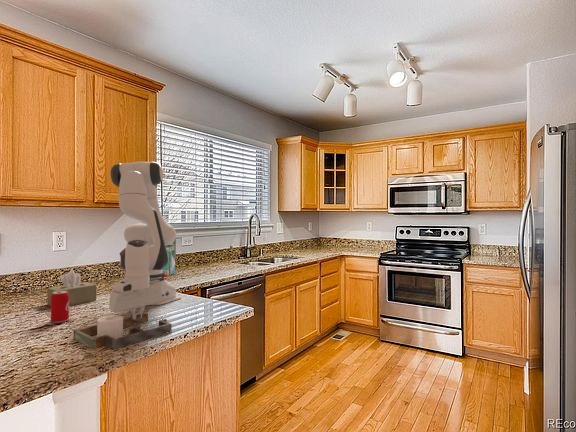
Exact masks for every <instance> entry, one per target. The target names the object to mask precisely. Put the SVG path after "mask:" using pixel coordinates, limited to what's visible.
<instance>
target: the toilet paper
mask: <svg viewBox="0 0 576 432" xmlns="http://www.w3.org/2000/svg"><path fill="white" fill-rule="evenodd" d="M123 318H124V316H122V315H118V314H117V315H116V314H108V315H105V316H101V317H99V318H98V319H97V324H96V325H97V334H96V337H100V336H104V335H108V336H110V337H113V338H115V339H116V338H120V337H123V336H124V333H123V332H124V327H123Z"/></svg>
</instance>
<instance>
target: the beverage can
mask: <svg viewBox="0 0 576 432" xmlns="http://www.w3.org/2000/svg"><path fill="white" fill-rule="evenodd" d="M69 320H70V305H69V294H68V291H55V292H53V293H52V295H51V306H50V322H52V323H55V324H60V323H65V322H67V321H69Z"/></svg>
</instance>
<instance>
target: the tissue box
mask: <svg viewBox="0 0 576 432" xmlns="http://www.w3.org/2000/svg"><path fill="white" fill-rule="evenodd" d="M60 280H61V281H62V283H63V285H58V286H53V287H47V289H46V290H47V291H46V292H47V293H46V294H47V295H46V296H47V297H46V299H47V300H46V301H47V302H46V305H47V306H50V307H51V295H52V293H53V292H55V291H68V294H69V306H73V305H74V306H75V305H80V304H85V303H88V302H89V301H90V302H93V301H94V302H95V301H97V284H95V283H91V282H88V281H86V282H85V281H84V282H81V281H82V276H81V273H79V272H77V273H75V271H74V270H73V269H72V270H70V271H69V272H67V273H65V274H63V275H62V276H60Z"/></svg>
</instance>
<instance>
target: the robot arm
mask: <svg viewBox="0 0 576 432" xmlns="http://www.w3.org/2000/svg"><path fill="white" fill-rule="evenodd" d="M163 178H164V169H163V167H162V165H161V164H160V163H159V162H156V161H135V162H124V163H116V164H113V166H111V169H110V179H111V182H112V184H113V185H114V186H116V187H118V204H119V205H118V206H119V209H120V211H121V212H122V213H123V214H124V215H125V216H127V217H129V218H131V219H133V220H135V221H139V222H142V223H134V224H133V223H132V224H129V225H127V227H126V228H125V229H124V233H123V237H124V239H125V242H126V247H125V248H124V249H122V250H121V251H120V252H119V256H120V258H119V267H120V268H121V269H123V270H124V271H125V274H124V278H122V279H121V280H119V281H117V282H115V283H113V284H112V285H111V290H112V292H111V293H110V296H109V303H108V305H109V306H108V307H109V308H108V309H109V310H110V311H111V313H112V312H113V313H121V312H125V311H129V312H130V313H131V315H132V316H133V319H134V320H135V319H138V318H142V314H144V311H145V309H146V306H160V305H161V306H163V305H166V304H168V303H172V302H174V301H177V300H181V298H182V297H181V295H179V294H177V292H176V291H177V290H176V287H175V286H174V285H173V284H172V283H170V282H169V281H167V280H166V279H165V278H169V277H170V275H169V274H166V273H165V274H164V273H162V269H163V268H164V267H165V266H166V265H167V264H168V253H167V250H166V247H165V246H166V245H171V244H172V243H173V242H174V241H175V239H176V238H177V232H176V229H175V227H174V226H173V225H171V224H170V223H168V221H167V220H166V219H165V218H164V217H163V215H162V213H161V211H160V206H159V200H158V195H157V194H158V193H157V189H156V186H158V185H161V183H162V182H163V180H164V179H163ZM176 240H177V239H176ZM137 308H138V311H137ZM136 311H137V312H136Z"/></svg>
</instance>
